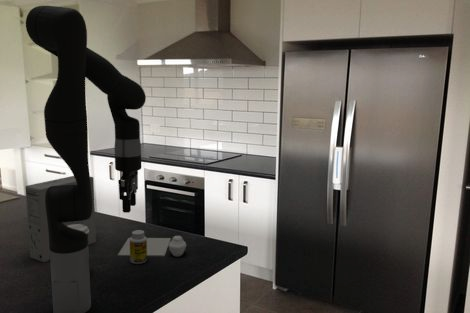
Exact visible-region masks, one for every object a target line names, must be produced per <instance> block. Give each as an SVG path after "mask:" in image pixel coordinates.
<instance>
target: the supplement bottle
mask: <svg viewBox="0 0 470 313" xmlns="http://www.w3.org/2000/svg"><path fill="white" fill-rule="evenodd" d="M129 238H130V256H129V261H130V263H132V264H135V265H139V264H145V263H146V262H147V260H148V256H147V238H148V237H147V236H145V230H142V229H136V230H133V231H132V232H131V237H129Z"/></svg>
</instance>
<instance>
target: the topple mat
mask: <svg viewBox="0 0 470 313" xmlns="http://www.w3.org/2000/svg"><path fill="white" fill-rule="evenodd" d="M130 238H131V237H128V238H127V239H126V242H124V244H123V246H122V248H121V249H120V251H119V252H118V254H117V257H130ZM146 238H147V257H165V256H166V253H167V250H168V248H169V243H170V242H171V241H172V238H171V237H146Z"/></svg>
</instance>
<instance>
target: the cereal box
mask: <svg viewBox="0 0 470 313" xmlns="http://www.w3.org/2000/svg"><path fill="white" fill-rule="evenodd" d="M90 183H91V192H92V214H91V217H90V218H89V219H87V220H83V221H73V222H62V223H63V224H64V225H66V226H68V225H73V224H83V225H85V226H87V227H88V229H89V233H88V246H89V245H92V244H95V243H96V242H97V234H96V233H97V232H96V231H97V230H96V229H97V228H96V209H95V208H96V207H95V206H96V205H95V186H94V185H95V183H94V177H93V176H90ZM60 185H77V182H76V179H75V177H74V175H71V176H67V177H61V178H56V179H53V180H47V181H43V182H38V183H33V184H28V185H25V199H26V213H27V227H28V242H29V256H30V258H31V259H32V260H33V259H34V260H36V261H39V262H41V263H46V262H48V261H49V262H50V250H49V232H48V222H47V215H46V206H45V194H46V191H47V189H48V188H49V187H51V186H60Z"/></svg>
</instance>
